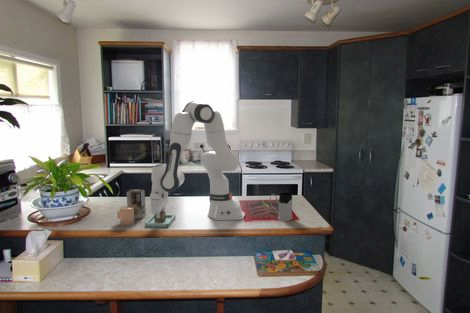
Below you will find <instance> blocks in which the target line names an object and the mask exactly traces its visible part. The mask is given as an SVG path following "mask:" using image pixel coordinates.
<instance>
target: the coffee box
mask: <svg viewBox="0 0 470 313" xmlns="http://www.w3.org/2000/svg"><path fill="white" fill-rule="evenodd" d="M126 206H132V207H134V219H144V218H145V217H146V215H147V213H146V210H147V208H146V190H145V189H135V188H134V189H133V188H132V189H129V190H128V191H126Z"/></svg>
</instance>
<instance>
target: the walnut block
mask: <svg viewBox="0 0 470 313" xmlns="http://www.w3.org/2000/svg"><path fill="white" fill-rule="evenodd" d="M166 212H167V211H165V210H164V211H160V215H161V217H160V218H157V215H156V213H153V215H154V220H155V222H157V223H163V222H164V221H165V220H166V214H167V213H166Z"/></svg>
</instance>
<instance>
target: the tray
mask: <svg viewBox="0 0 470 313" xmlns="http://www.w3.org/2000/svg"><path fill="white" fill-rule="evenodd" d="M174 220H176V214H167V213H166V220H165V221H164V222H163V223H157V222H155V220H154V214H152V215H151V216H150V218H148V219H147V220H146V221H145V222H144V227H147V228H169V227H170V225H171V224H172V223H173V222H174Z"/></svg>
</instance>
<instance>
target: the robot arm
mask: <svg viewBox="0 0 470 313" xmlns="http://www.w3.org/2000/svg"><path fill="white" fill-rule="evenodd" d="M196 123H202V124H203V126H204V131H205V132H204V133H205V139H206V144H207V145H208V147H210V148H211V149H212V150H213V151H212V150H211V151H206V152H203V153H202V155H201V156H200V163H201V164H200V165H201V166H202V167H203V168H204V169H205V171H206V172H207V175H208V178H209V179H208V180H209V185H210V186H209V187H210V188H209V189H210V192H209V209H208V213H207V217H208V218H211V219H214V220H215V221H232V220H233V221H237V220H238V221H239V220H243V219H245V217H244V216H245V215H246V214H245V212H244V211H242V208H241V205H240V204H239V203H238V201H235V200H234V199H233V193H232V192H230V190H229V184H230V183H229V179H228V177H226V175H225V174H224V172H234V171H236V170H237V169H238V168H239V166H240V159H239V156H238V155H236V154H235V153H234V152H233V151H232V150H231V148H230V146H229V144H228V142H227V137H226V133H225V132H226V131H225V126H224V122H223V118H222V115H221V113H220V111H217V110H214V109H213V108H212V106H211V105H210V104H208V103H206V102H202V101H190V102H188V103H186V105H185V106H184V108H183V109H182V111H181V112H178V113H176V114H175V115H174V118H173V120H172V125H171V130H170V139H169V147H168V148H169V150H168V153H167V159H166V163H158V164H155V165H153V166H152V168H151V182H152V185H151V192H150V195H149V200H150V210H151V213H152V214H155V213H156V215H157V218H160V217H161V215H160V211H165V208H166V206H167V204H168V203H169V193H174V192H176V191H177V190H178V188H179V187H181V185H182V184H183V183H184V182H185V174H184V172H183V171H181V170H180V169H179V166H180V162H181V161H180V160H181V157H182V154H183V153H184V152H185V151H186V149H187V148H188V147H189V145H190V142H191V138H192V132H193V127H194V125H195V124H196Z"/></svg>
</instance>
